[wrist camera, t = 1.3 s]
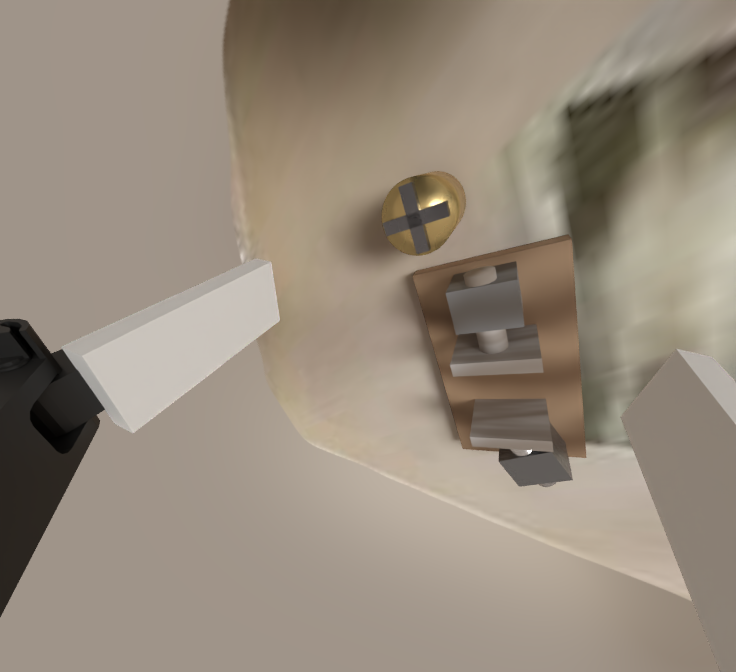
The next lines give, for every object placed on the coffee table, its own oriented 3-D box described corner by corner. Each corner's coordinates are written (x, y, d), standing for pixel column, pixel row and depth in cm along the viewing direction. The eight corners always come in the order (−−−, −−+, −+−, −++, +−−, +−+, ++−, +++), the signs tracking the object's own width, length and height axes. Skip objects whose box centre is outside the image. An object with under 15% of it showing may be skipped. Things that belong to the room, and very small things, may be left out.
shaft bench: (416, 270, 28) (394, 298, 22) (568, 234, 22) (587, 260, 16) (464, 439, 36) (456, 487, 31) (583, 445, 30) (598, 507, 25)
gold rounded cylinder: (398, 185, 25) (368, 193, 19) (458, 160, 22) (442, 163, 17) (414, 243, 26) (391, 265, 21) (471, 226, 24) (461, 247, 19)
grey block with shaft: (488, 414, 31) (486, 445, 28) (534, 401, 28) (537, 434, 25) (521, 455, 32) (522, 490, 29) (568, 447, 29) (576, 484, 26)
